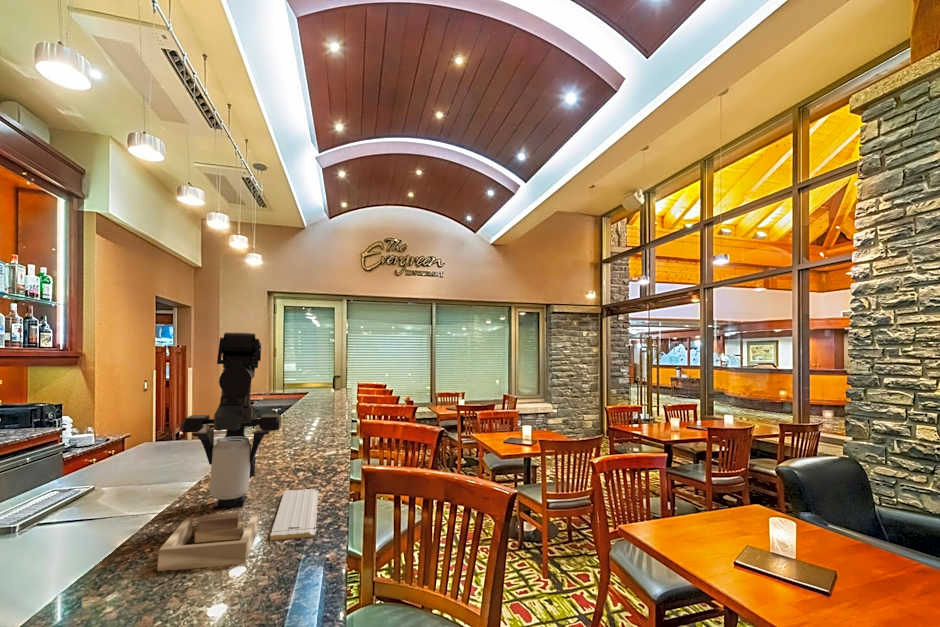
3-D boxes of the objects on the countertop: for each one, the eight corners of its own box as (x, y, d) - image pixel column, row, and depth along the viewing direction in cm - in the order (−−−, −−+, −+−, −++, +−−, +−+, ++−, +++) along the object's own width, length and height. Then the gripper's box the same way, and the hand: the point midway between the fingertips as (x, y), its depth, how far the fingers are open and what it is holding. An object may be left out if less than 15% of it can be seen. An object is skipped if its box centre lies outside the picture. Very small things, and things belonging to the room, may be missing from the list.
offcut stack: (199, 535, 92) (201, 514, 92) (243, 531, 94) (244, 511, 94) (194, 543, 88) (195, 521, 88) (240, 539, 90) (241, 518, 91)
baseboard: (324, 493, 122) (283, 496, 119) (324, 482, 122) (284, 485, 119) (322, 538, 93) (269, 543, 90) (323, 524, 93) (270, 528, 90)
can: (255, 490, 102) (258, 435, 103) (236, 501, 94) (240, 442, 95) (222, 489, 102) (226, 434, 103) (201, 500, 95) (205, 440, 96)
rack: (184, 536, 91) (185, 518, 91) (258, 530, 95) (259, 513, 95) (157, 571, 77) (158, 550, 77) (245, 563, 80) (246, 542, 81)
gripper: (175, 394, 90) (169, 476, 89) (278, 394, 95) (273, 471, 94) (192, 388, 100) (186, 461, 99) (283, 389, 106) (279, 458, 105)
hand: (231, 463), depth 99 cm, fingers closed on can, 7 cm apart
